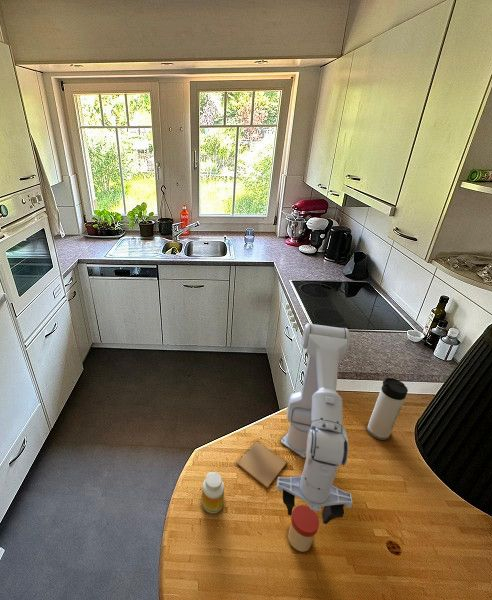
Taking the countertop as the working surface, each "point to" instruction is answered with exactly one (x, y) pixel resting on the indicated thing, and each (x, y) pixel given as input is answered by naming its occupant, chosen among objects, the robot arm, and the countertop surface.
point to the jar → (299, 540)
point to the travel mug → (387, 408)
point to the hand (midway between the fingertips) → (306, 514)
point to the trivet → (262, 464)
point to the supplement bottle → (213, 492)
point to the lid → (305, 521)
